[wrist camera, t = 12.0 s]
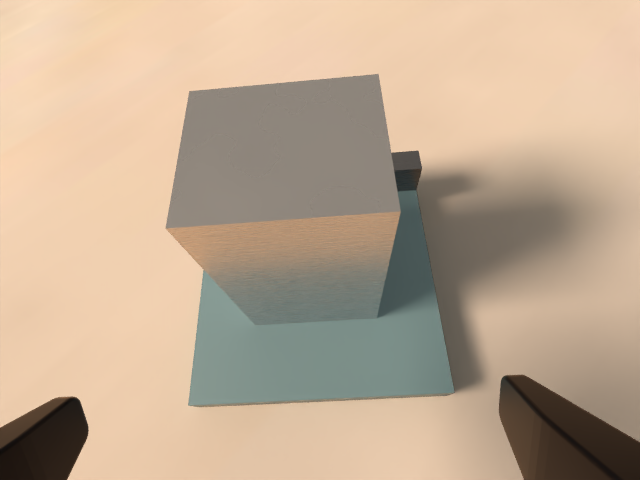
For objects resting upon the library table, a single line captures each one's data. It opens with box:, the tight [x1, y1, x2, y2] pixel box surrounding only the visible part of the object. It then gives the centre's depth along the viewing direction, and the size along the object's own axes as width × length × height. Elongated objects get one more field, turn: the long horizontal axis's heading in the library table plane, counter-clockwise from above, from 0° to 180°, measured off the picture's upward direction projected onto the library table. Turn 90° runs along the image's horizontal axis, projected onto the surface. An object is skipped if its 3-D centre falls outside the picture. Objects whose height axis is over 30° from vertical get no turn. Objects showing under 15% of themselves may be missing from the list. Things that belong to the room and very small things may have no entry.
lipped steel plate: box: [188, 151, 455, 407], centre depth 19 cm, size 12×12×4 cm
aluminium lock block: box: [166, 74, 401, 325], centre depth 15 cm, size 5×6×10 cm
